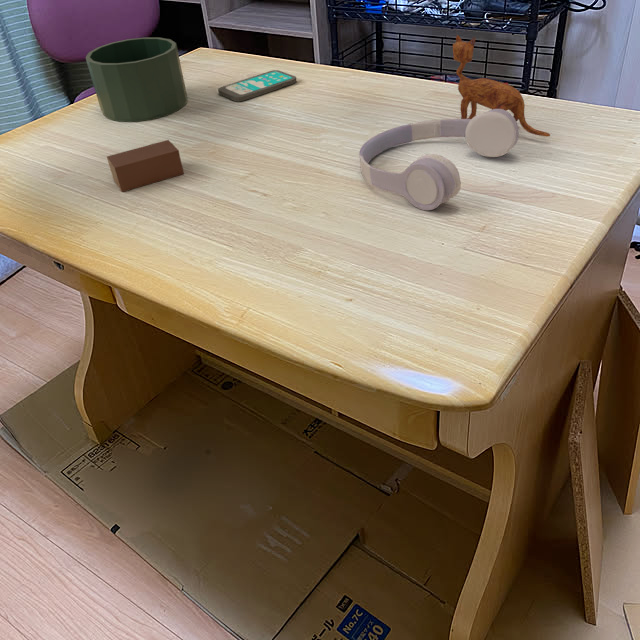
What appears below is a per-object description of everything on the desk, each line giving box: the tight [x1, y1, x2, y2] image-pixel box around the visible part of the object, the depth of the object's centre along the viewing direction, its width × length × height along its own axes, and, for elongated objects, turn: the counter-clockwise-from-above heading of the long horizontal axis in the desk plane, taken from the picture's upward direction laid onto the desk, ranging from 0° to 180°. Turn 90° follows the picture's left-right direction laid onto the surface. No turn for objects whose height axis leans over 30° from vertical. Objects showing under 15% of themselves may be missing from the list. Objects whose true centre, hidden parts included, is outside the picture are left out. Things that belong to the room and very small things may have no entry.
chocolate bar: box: [106, 139, 184, 193], centre depth 97 cm, size 10×5×4 cm, turn 119°
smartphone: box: [217, 69, 298, 102], centre depth 126 cm, size 9×1×15 cm
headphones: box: [358, 109, 520, 211], centre depth 92 cm, size 22×7×20 cm
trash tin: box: [85, 37, 188, 123], centre depth 120 cm, size 17×17×10 cm
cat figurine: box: [452, 34, 551, 138], centre depth 98 cm, size 18×7×14 cm, turn 50°
